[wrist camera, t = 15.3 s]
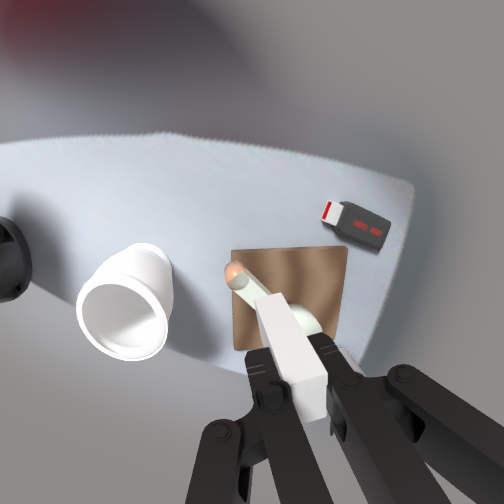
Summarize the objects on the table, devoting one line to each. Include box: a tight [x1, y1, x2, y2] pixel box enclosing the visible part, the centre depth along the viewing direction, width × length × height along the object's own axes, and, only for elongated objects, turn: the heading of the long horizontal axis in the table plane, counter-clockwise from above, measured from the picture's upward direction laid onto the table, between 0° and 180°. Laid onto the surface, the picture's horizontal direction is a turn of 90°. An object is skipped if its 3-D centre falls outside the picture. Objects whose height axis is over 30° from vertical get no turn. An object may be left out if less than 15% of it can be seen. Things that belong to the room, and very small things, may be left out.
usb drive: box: [321, 200, 391, 250], centre depth 42 cm, size 5×12×3 cm, turn 70°
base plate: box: [231, 246, 348, 350], centre depth 44 cm, size 18×17×2 cm
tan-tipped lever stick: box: [225, 261, 322, 336], centre depth 36 cm, size 16×6×4 cm, turn 42°
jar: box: [76, 243, 174, 361], centre depth 33 cm, size 11×10×15 cm
